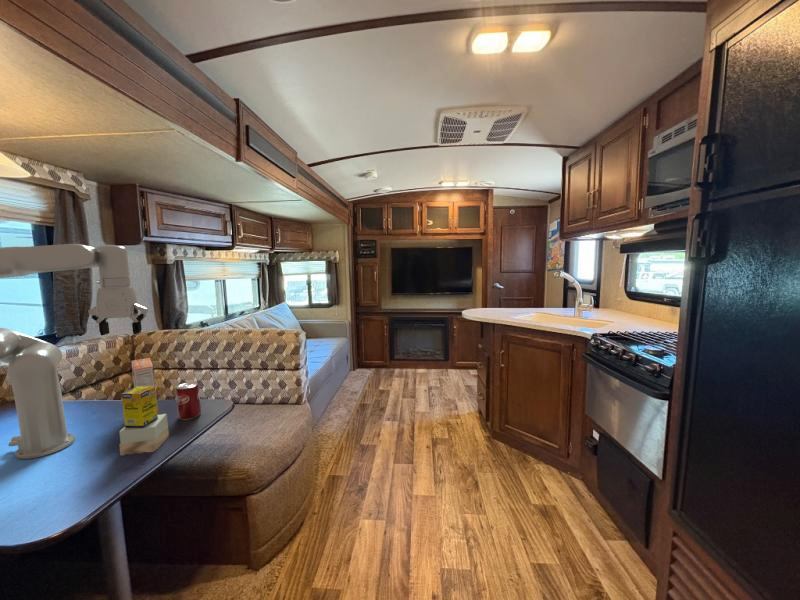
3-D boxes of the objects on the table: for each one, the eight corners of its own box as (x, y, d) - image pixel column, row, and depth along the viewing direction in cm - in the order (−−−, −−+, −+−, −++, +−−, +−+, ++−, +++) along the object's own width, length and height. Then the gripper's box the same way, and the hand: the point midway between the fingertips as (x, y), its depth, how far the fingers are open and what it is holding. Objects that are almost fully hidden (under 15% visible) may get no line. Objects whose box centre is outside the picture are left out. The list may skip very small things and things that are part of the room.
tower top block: (120, 444, 97) (119, 431, 97) (135, 429, 106) (134, 417, 105) (156, 439, 100) (154, 427, 99) (167, 425, 108) (166, 413, 108)
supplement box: (143, 428, 98) (140, 393, 97) (124, 428, 99) (120, 393, 97) (158, 418, 104) (155, 386, 103) (140, 418, 104) (136, 385, 103)
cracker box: (136, 413, 124) (130, 360, 122) (156, 408, 128) (151, 357, 126) (138, 427, 114) (132, 369, 111) (159, 421, 118) (154, 365, 115)
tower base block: (120, 456, 98) (119, 444, 97) (138, 440, 106) (136, 429, 106) (154, 453, 99) (153, 440, 99) (169, 437, 108) (167, 426, 108)
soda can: (184, 422, 117) (181, 390, 115) (174, 417, 121) (171, 386, 119) (205, 414, 123) (202, 384, 121) (195, 410, 127) (192, 380, 125)
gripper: (76, 284, 103) (83, 337, 105) (137, 283, 106) (142, 335, 108) (94, 283, 111) (100, 332, 113) (151, 282, 113) (155, 330, 115)
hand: (121, 333), depth 110 cm, fingers open, 9 cm apart
